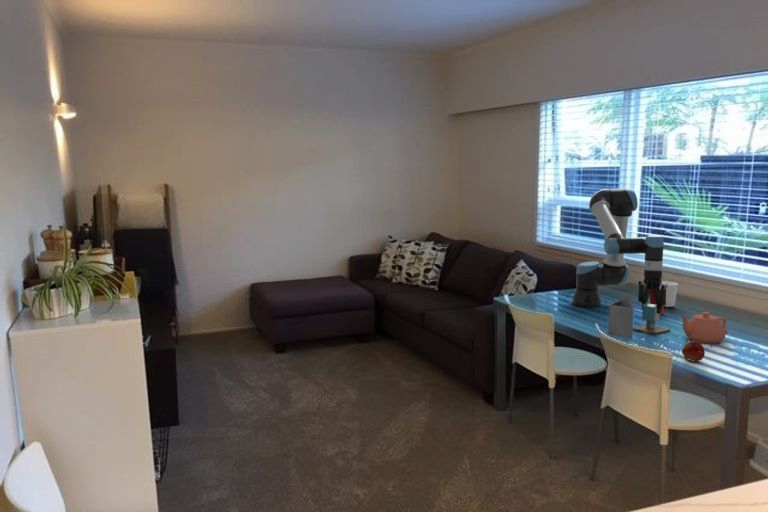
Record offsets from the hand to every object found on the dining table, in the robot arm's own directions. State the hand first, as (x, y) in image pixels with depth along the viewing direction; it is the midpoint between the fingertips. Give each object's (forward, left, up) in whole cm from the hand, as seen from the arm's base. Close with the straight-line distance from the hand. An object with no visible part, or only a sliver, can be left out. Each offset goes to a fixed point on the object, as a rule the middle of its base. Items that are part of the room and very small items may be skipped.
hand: (651, 318), depth 276 cm
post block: (0, 0, -6) cm, 6 cm away
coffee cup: (-18, +30, -6) cm, 36 cm away
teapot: (+22, +5, -6) cm, 23 cm away
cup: (-24, +47, -6) cm, 53 cm away
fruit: (+36, -24, -6) cm, 43 cm away
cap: (0, 0, 0) cm, 0 cm away
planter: (-6, -15, -6) cm, 18 cm away
